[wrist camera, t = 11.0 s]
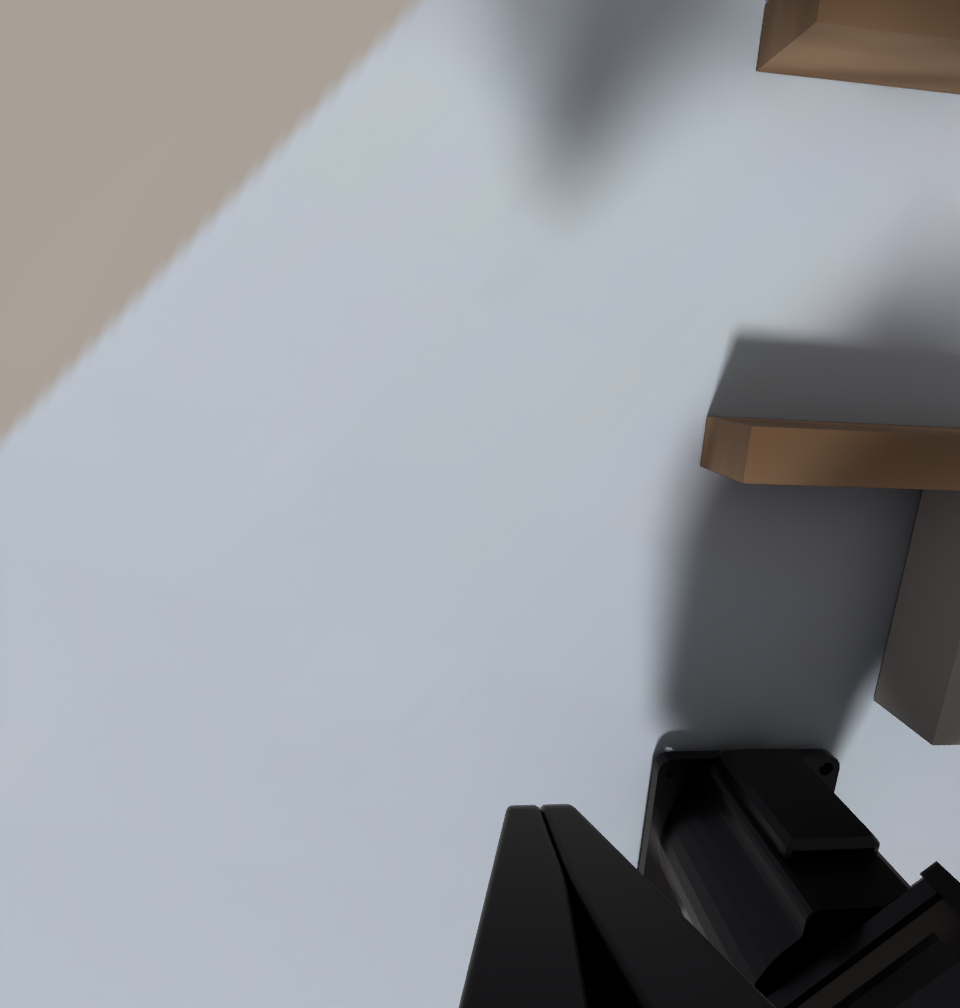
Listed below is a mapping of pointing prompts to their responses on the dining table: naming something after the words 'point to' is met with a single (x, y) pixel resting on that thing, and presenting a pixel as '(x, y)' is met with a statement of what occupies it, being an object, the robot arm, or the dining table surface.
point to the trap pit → (927, 627)
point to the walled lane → (871, 60)
